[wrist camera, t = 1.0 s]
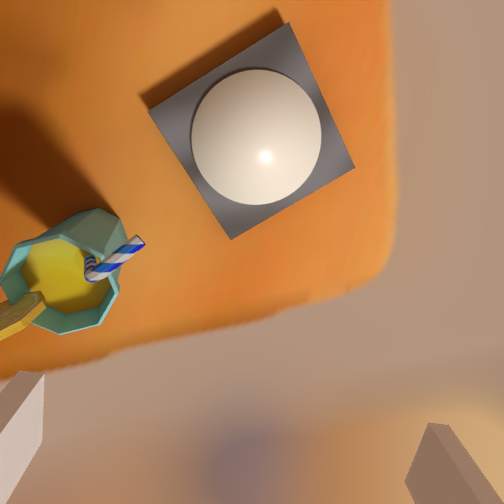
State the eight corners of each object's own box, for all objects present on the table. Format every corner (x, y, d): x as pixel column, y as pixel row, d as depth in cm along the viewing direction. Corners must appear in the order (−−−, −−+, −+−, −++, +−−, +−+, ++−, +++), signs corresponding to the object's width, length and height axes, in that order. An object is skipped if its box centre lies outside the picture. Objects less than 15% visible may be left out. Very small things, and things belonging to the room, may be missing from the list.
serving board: (149, 110, 33) (147, 111, 32) (285, 24, 32) (289, 21, 30) (229, 234, 38) (230, 241, 36) (349, 164, 37) (356, 168, 35)
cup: (135, 149, 34) (88, 189, 20) (191, 218, 37) (184, 293, 23) (16, 241, 36) (-100, 335, 22) (78, 300, 39) (10, 415, 25)
